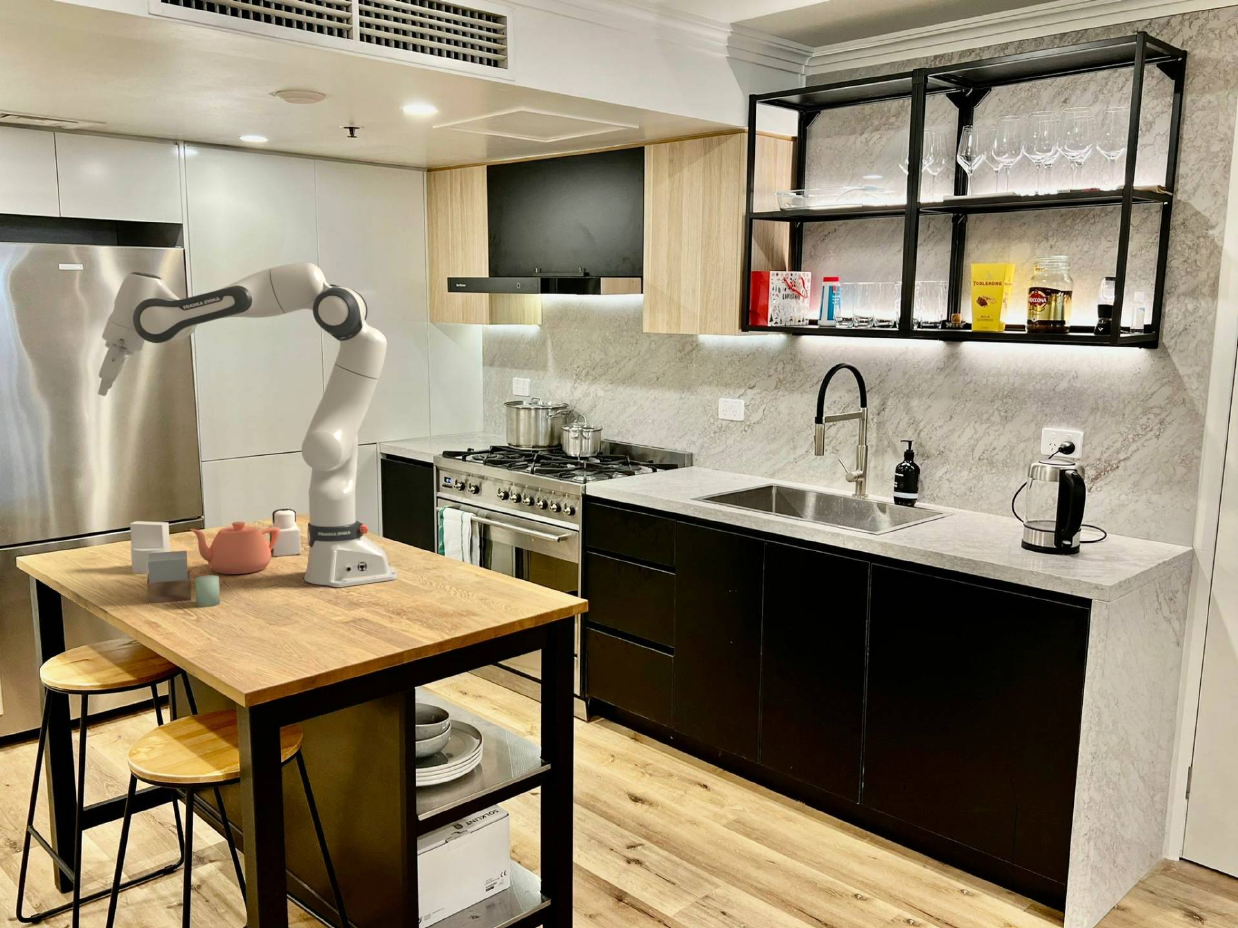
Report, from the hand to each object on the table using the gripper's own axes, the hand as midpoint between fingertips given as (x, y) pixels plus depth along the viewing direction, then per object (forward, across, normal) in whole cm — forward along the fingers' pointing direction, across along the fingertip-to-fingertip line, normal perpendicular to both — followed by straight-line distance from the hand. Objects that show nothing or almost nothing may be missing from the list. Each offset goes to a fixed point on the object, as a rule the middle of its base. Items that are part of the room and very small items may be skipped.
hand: (104, 391), depth 244 cm
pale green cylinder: (+32, -32, -36) cm, 58 cm away
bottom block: (+36, -24, -29) cm, 52 cm away
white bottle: (+30, +12, -55) cm, 63 cm away
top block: (+32, -24, -27) cm, 48 cm away
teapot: (+33, -3, -43) cm, 54 cm away
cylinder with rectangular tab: (+41, +3, -24) cm, 47 cm away
